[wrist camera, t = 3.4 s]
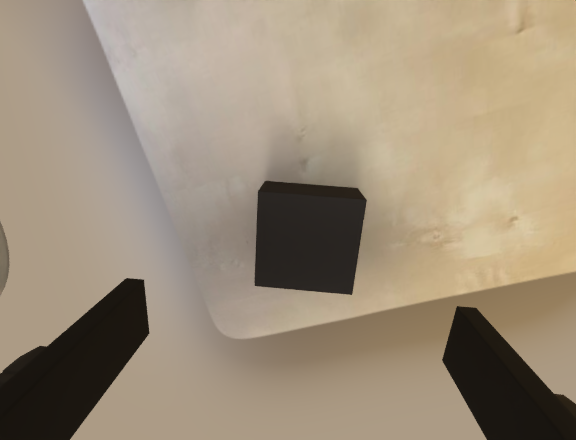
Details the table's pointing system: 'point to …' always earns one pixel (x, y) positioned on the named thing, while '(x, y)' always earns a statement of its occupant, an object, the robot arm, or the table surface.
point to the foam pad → (308, 236)
